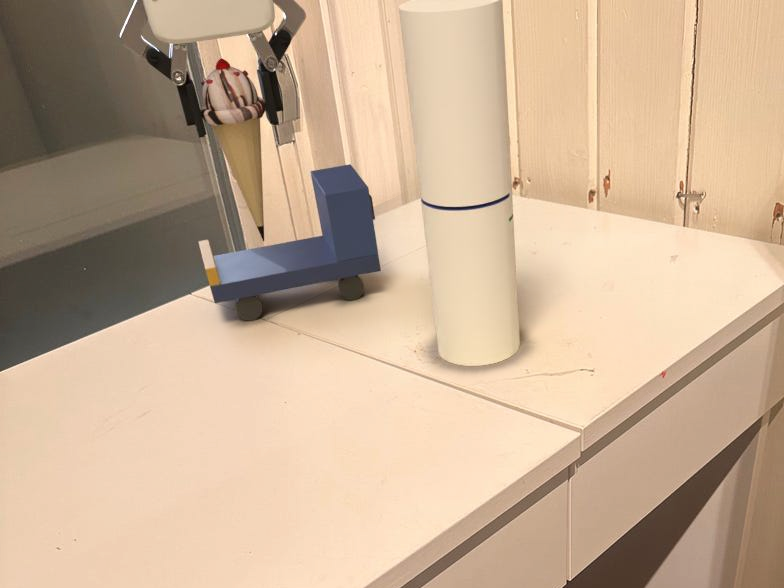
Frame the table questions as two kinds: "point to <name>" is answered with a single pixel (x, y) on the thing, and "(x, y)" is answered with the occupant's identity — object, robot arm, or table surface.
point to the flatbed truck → (305, 249)
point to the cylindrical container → (464, 173)
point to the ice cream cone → (237, 130)
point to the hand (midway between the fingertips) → (237, 125)
